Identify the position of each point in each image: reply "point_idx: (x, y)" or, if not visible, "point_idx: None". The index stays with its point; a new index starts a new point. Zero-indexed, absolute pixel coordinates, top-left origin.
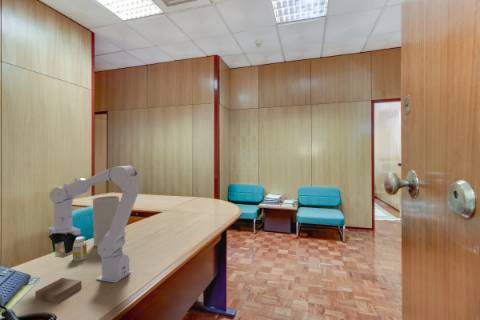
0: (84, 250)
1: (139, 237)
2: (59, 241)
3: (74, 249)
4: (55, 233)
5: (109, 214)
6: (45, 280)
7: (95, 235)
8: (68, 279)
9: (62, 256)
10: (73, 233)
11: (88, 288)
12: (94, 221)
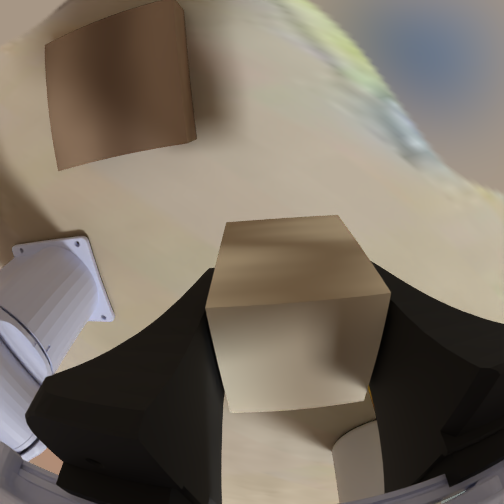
0: (369, 388)
1: (293, 475)
2: (386, 360)
3: None
4: (485, 444)
5: None
6: (348, 143)
7: None
8: (130, 148)
9: (235, 226)
10: (42, 482)
11: (51, 174)
12: None
